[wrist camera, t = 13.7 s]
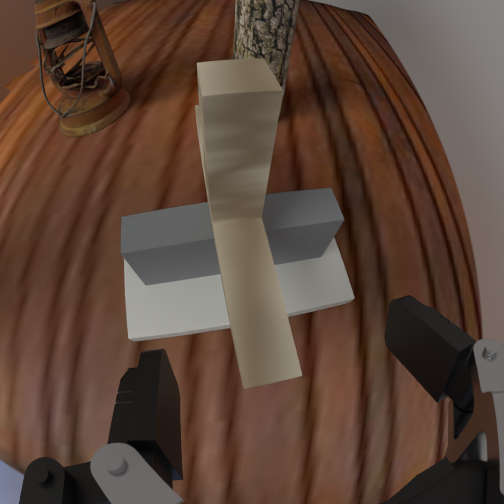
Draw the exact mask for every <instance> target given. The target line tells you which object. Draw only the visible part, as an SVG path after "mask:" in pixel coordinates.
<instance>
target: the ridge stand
mask: <svg viewBox="0 0 504 504" xmlns="http://www.w3.org/2000/svg"><path fill="white" fill-rule="evenodd" d="M262 220H263V224H264V228H265V232H266V235H267V239H268V243H269V247H270V250H271V254H272V258H273V262H274V266H275V269H276V273H277V277H278V281H279V285H280V289H281V293H282V296H283V300H284V304H285V308H286V312H287V316H288V317H290V316H294V315H299V314H304V313H308V312H313V311H317V310H321V309H326V308H330V307H334V306H338V305H342V304H346V303H349V302H350V301H352V300H353V299H354V298H355V297H354V294H353V291H352V288H351V285H350V282H349V279H348V276H347V272H346V269H345V266H344V263H343V261H342V258H341V255H340V252H339V249H338V246H337V243H336V240H335V238H334V236H335V234H336V233H337V231H338V230H339V228H340V226H341V225H342V223H343V222H344V217H343V215H342V212H341V210H340V207H339V205H338V202H337V200H336V198H335V195H334V193H333V191H332V188H322V189H311V190H301V191H291V192H282V193H273V194H266V195H265V201H264V207H263V213H262ZM121 255H122V256H123V257H124V277H125V300H126V315H127V328H128V338H129V339H130V340H132V341H142V340H151V339H159V338H167V337H174V336H181V335H189V334H195V333H202V332H208V331H215V330H221V329H227V328H231V327H230V322H229V317H228V312H227V307H226V302H225V296H224V291H223V286H222V280H221V275H220V269H219V264H218V258H217V252H216V247H215V241H214V235H213V229H212V223H211V217H210V211H209V204H208V202H205V203H198V204H192V205H186V206H179V207H173V208H167V209H162V210H156V211H150V212H145V213H139V214H134V215H128V216H123V217H122V218H121Z"/></svg>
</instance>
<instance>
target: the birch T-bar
mask: <svg viewBox="0 0 504 504" xmlns="http://www.w3.org/2000/svg"><path fill="white" fill-rule="evenodd" d="M197 75H198V91H199V105H195V111H196V122H197V129H198V137H199V144H200V151H201V158H202V165H203V172H204V179H205V185H206V192H207V198H208V204H209V211H210V217H211V223H212V229H213V235H214V241H215V247H216V252H217V258H218V264H219V269H220V275H221V280H222V286H223V291H224V296H225V302H226V307H227V312H228V317H229V322H230V327H231V332H232V337H233V342H234V347H235V352H236V356H237V361H238V366H239V371H240V375H241V380H242V384H243V388H244V389H246V388H251V387H256V386H261V385H266V384H270V383H274V382H279V381H283V380H287V379H291V378H295V377H299V376H302V373H301V369H300V365H299V360H298V356H297V352H296V348H295V344H294V340H293V336H292V332H291V328H290V324H289V320H288V316H287V312H286V308H285V304H284V300H283V296H282V293H281V289H280V285H279V281H278V277H277V273H276V269H275V266H274V262H273V258H272V254H271V250H270V247H269V243H268V239H267V235H266V232H265V228H264V224H263V220H262V213H263V207H264V201H265V195H266V189H267V184H268V178H269V172H270V166H271V160H272V154H273V148H274V142H275V136H276V130H277V124H278V118H279V112H280V106H281V100H282V94H283V90H282V88H281V86H280V85H279V83H278V81H277V79H276V78H275V76H274V74H273V73H272V71H271V69H270V68H269V66H268V64H267V63H266V61H265V59H236V60H221V61H210V62H200V63H197Z"/></svg>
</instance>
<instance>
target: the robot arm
mask: <svg viewBox="0 0 504 504" xmlns="http://www.w3.org/2000/svg"><path fill="white" fill-rule="evenodd" d="M385 342H386V345H387V347H388V349H389V350H390V351H391V352H392V353H393V354H394V356H395V357H396V358H397V359H398V360H399V361H400V362H401V363H402V364H403V365H404V366H405V367H406V369H407V370H408V371H409V372H410V373H411V374H412V375H413V376H414V377H415V378H416V380H417V381H418V382H419V383H420V384H421V385H422V386H423V387H424V388H425V390H426V391H427V392H428V393H429V394H430V395H431V396H432V397H433V399H434V400H435V401H436V402H437V403H438V402H440V401H441V400H443V399H445V398H446V397H448V396H449V397H450V399H451V400H450V402H449V404H448V447H447V451H446V453H445V456H444V458H443V459H442V460H441V461H439V462H438V463H436V464H435V465H433V466H431V467H430V468H428V469H427V470H425V471H423V472H422V473H420V474H418V475H417V476H415V477H414V478H413V479H412V480H411V481H410V482H409V483H408V484H407V485H406V486H404V487H403V488H402V489H401V490H400V491H399V492H397V493H396V494H395V495H394V496H393V497H391V498H390V499H389V500H387V501H386V502H384V503H381V504H504V346H503V345H502V344H500V343H499V342H497V341H495V340H492V339H481V340H479V341H477V342H476V341H475V340H474V339H473V338H471V337H470V336H469V335H467V334H466V333H465V332H464V331H462V330H461V329H460V328H459V327H457V326H456V325H455V324H453V323H450V321H449V320H448V319H447V318H446V317H443V315H442V314H440V313H439V312H438V311H436V310H435V309H433V308H431V307H428V306H426V305H423V304H422V303H420V302H419V301H418V300H416V299H415V298H414V297H412V296H410V295H408V296H404V297H401V298H398V299H395V300H392V301H391V302H390V305H389V310H388V317H387V323H386V329H385ZM172 480H183V471H182V453H181V425H180V394H179V388H178V384H177V381H176V378H175V376H174V373H173V370H172V368H171V365H170V362H169V359H168V356H167V354H166V351H165V350H164V349H158V350H150V351H142V352H141V354H140V359H139V364H138V367H135V368H129V369H128V370H127V372H126V373H125V374H124V376H123V377H122V378H121V380H120V385H119V389H118V394H117V398H116V404H115V407H114V412H113V417H112V422H111V428H110V433H109V439H108V443H107V445H105V446H103V447H101V448H100V449H99V450H97V451H96V453H95V454H94V455H93V457H92V460H91V461H90V462H87V463H82V464H78V465H73V466H67V467H63V466H62V465H60V464H59V463H58V462H57V461H56V460H54V459H52V458H49V457H42V458H38V459H36V460H34V461H33V462H31V463H30V464H29V466H28V467H27V469H26V472H25V475H24V480H23V485H22V491H21V495H20V501H19V504H187V503H186V502H185V501H184V500H183V499H181V498H180V497H179V496H178V495H177V494H176V493H175V492H174V491H173V485H172Z"/></svg>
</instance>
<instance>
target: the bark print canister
mask: <svg viewBox="0 0 504 504" xmlns="http://www.w3.org/2000/svg"><path fill="white" fill-rule="evenodd" d="M298 6H299V0H236V7H235V29H234V55H233V60H236V59H265V61H266V63H267V64H268V66H269V68H270V69H271V71H272V73H273V74H274V76H275V78H276V79H277V81H278V83H279V85H280V86H281V88H282V90H283V94H282V100H281V106H280V112H281V107H282V101H283V95H284V90H285V84H286V78H287V72H288V66H289V60H290V54H291V48H292V43H293V37H294V31H295V25H296V18H297V12H298ZM280 112H279V115H280Z"/></svg>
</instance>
